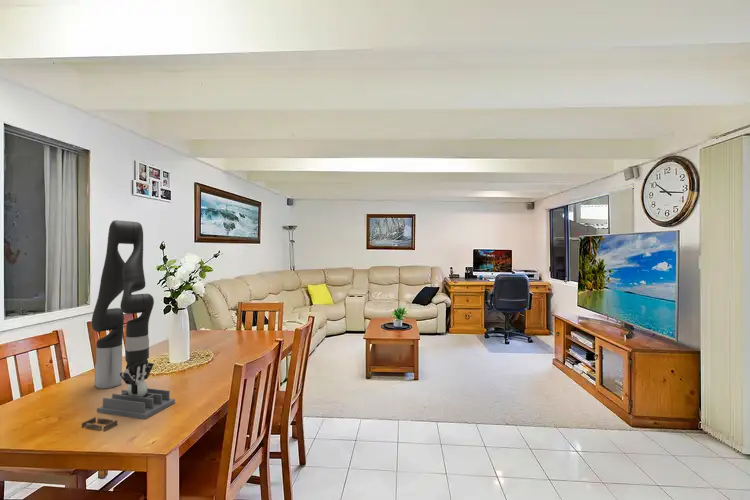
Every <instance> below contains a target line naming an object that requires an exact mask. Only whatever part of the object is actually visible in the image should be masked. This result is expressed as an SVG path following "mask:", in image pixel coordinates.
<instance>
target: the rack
mask: <svg viewBox="0 0 750 500" xmlns="http://www.w3.org/2000/svg"><path fill="white" fill-rule="evenodd" d="M174 404H176V399H174V398H171V394H170V390H167V389H166V390H164V389H159V388H151V387H147V394H146V395H145V396H144V397H136V396H129V394H128V391H127V389H122V390H121V393H120V394H118V393H112V397H111V398H110V397H109V398H108V397H103V398H102V406H100V407H98V408H97V409H96V412H97V413H99V414H105V415H112V416H119V417H120V416H121V417H126V418H135V419H141V420H146V419H148V418H150V417H152V416H154V415H155V414H157V413H159V412H161V411H163V410H164V409H167V408H169V407H170V406H172V405H174Z"/></svg>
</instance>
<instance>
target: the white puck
mask: <svg viewBox="0 0 750 500" xmlns="http://www.w3.org/2000/svg"><path fill="white" fill-rule="evenodd" d="M147 388H148V385H147V384H146V382H145V380H144V381H143V380H140V379H138V384H137V392H138V393H137V394H136V395H135V394H132V392H131V391H132V390H131V385H130V384H127V389H126V390H127V391H128V394H129V396H136V397H144V396H145V395H146V394H147Z"/></svg>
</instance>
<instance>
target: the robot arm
mask: <svg viewBox="0 0 750 500" xmlns="http://www.w3.org/2000/svg"><path fill="white" fill-rule="evenodd" d="M119 244H122V245H123V244H124V245H133V249H132V252H131V254H130V256H129V257H128V259H127V260H126V261H124V259H123V258H122V256H121V253H120V251H119ZM145 277H146V276H145V272H144V228H143V225H142V224H141V223H140V222H138V221H129V220H127V221H126V220H118V219H116V220H112V221H111V223H110V225H109V229H108V234H107V244H106V254H105V260H104V263H103V268H102V272H101V276H100V284H99V290H98V295H97V299H96V304H95V306H94V309H93V313H92V317H91V327H92V330H93V331H94V332H107V331H110V332H108V334H106V335H105V336H103V337H101V338H98V339H97V340H96V343H95V344H96V347H95V348H96V356H95V357H96V362H95V364H94V387H96V388H97V389H104V390H105V389H112V388H115V387H119V386H120V385H122V384H123V382H124V383H125V384H126V385H129V384H130V385H131V390H132V391H131V392H132V394H135V395H136V394H137V393H138V392H137V384H138V379H140V380H143V381H144V382H145V380H147V379H148V378H149V376H150V374H151V371H152V370H153V367H154V363H152V362H149V360H148V359H149V358H150V337H149V323H150V319H151V318H150V317H151V314H152V311H153V308H154V304H155V300H154V297H153V295H152V294H150V293H138V294H137V293H136V292H139V291H142V290H143V289H145V288H146V278H145ZM122 292H123V293H122ZM132 293H136V294H132ZM121 294H122V297H121V301H120V307H113V308H109V306H110V305H111V304H112V302H113V301H114V300H115V299H116V298H117V297H118V296H120V295H121ZM140 313H141V314H140ZM124 314H126V315H132V314H140V316H138V317H135V318H133V319H130V320H128V321H126V323H125V321H124V320H125V316H124ZM124 323H125V324H124ZM124 325H126V327H125V330H126V331H125V344H124V345H125V351H124V353H125V354H124V355H125V362H126V367H125V370H124V371H123V340H124V339H123V338H124Z"/></svg>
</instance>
